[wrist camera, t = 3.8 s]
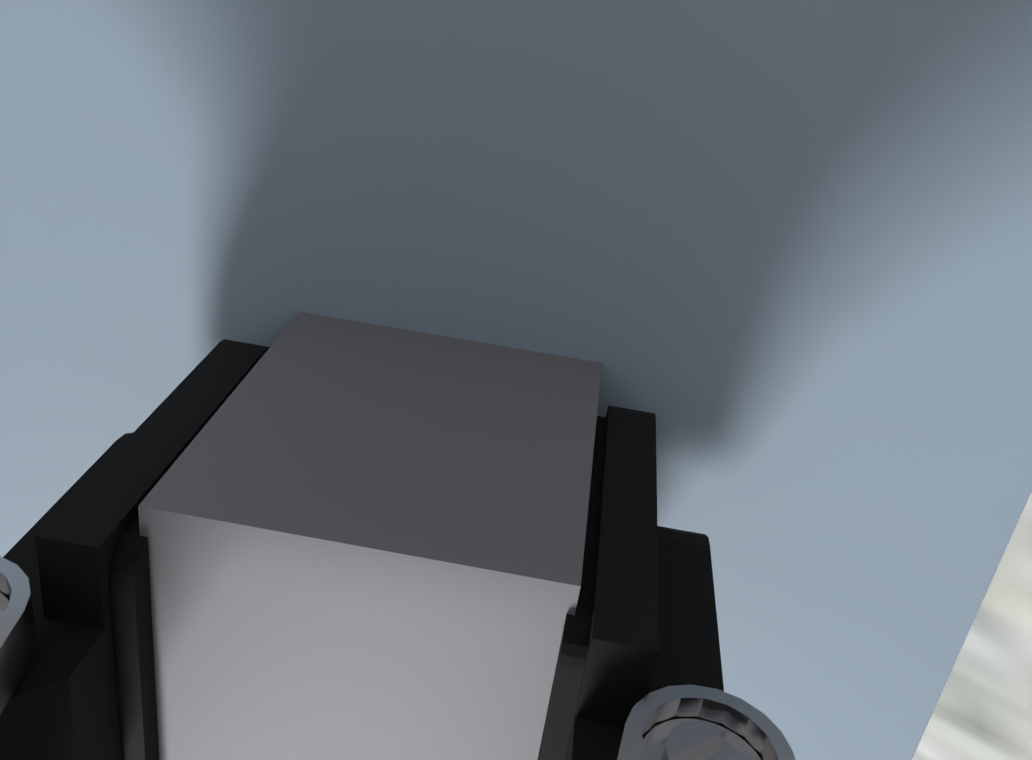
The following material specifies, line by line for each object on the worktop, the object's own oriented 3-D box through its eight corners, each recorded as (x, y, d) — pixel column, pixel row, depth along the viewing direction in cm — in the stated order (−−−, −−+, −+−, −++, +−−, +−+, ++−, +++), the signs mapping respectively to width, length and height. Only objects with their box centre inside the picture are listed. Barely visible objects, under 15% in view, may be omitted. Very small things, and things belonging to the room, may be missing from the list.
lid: (826, 867, 16) (898, 1255, 11) (6, 708, 16) (-235, 1016, 12) (1215, -60, 9) (1727, -20, 5) (-135, -258, 10) (-758, -377, 6)
